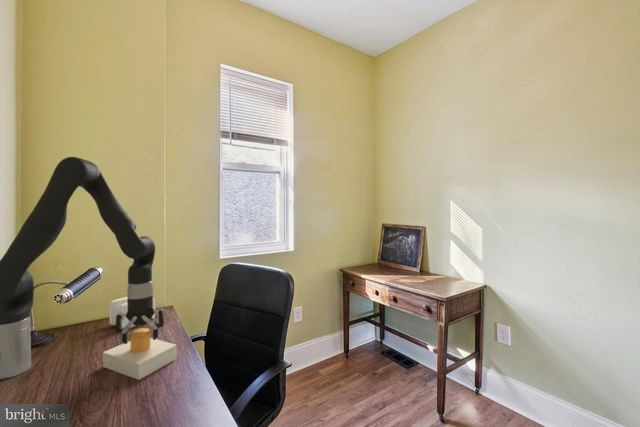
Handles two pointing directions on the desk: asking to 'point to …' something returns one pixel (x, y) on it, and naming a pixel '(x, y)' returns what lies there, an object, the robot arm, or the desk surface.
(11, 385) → the desk surface
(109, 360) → the box
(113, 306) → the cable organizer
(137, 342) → the orange lidded jar
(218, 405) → the desk surface
